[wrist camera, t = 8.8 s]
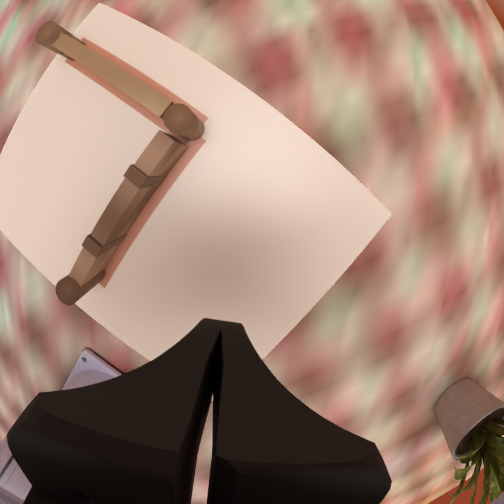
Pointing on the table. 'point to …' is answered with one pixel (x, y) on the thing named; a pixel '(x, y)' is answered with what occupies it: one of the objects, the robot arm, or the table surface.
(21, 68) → the table surface
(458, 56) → the table surface
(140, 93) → the fence fixed
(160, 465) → the robot arm
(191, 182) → the card
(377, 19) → the table surface
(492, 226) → the table surface
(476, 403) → the house plant
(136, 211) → the fence panel
